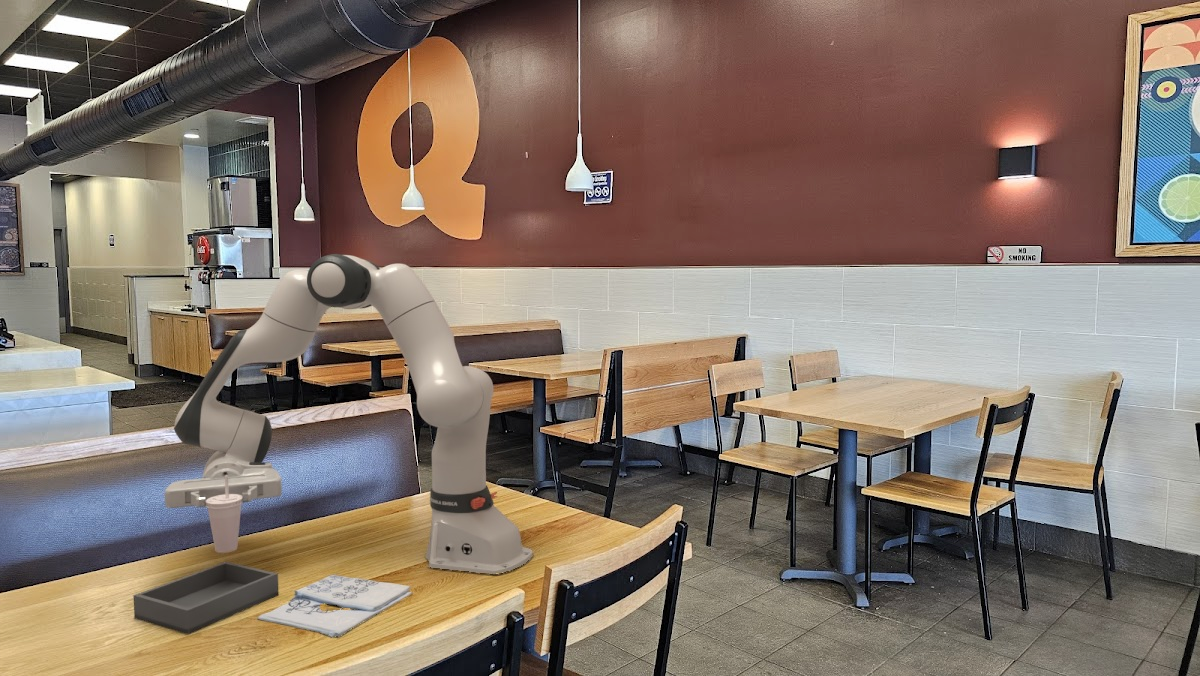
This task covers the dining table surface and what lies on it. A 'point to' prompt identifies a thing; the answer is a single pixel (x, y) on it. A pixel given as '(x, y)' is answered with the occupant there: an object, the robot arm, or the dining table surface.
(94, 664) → the dining table surface
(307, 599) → the folded bicycle print cloth
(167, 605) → the tray
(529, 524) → the dining table surface
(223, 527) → the smoothie
